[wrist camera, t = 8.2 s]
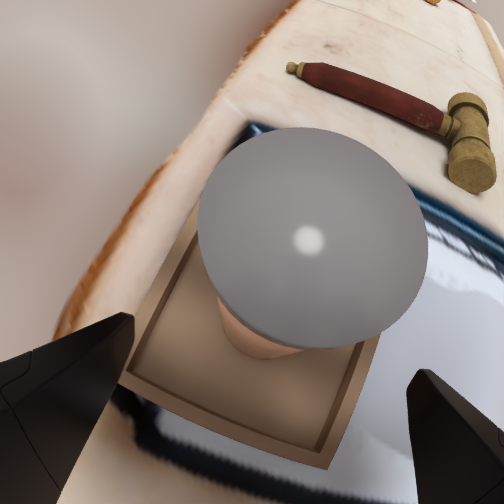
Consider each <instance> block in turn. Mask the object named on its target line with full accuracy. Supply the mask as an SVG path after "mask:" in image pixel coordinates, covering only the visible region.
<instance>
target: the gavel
mask: <svg viewBox="0 0 504 504" xmlns="http://www.w3.org/2000/svg"><path fill="white" fill-rule="evenodd" d="M286 69H287V70H288V71H289V72H296V73H297V76H298V77H300V78H303V79H304V80H306V81H307V82H309V83H310V84H312V85H313V86H315V87H317V88H320V89H323V90H326V91H329V92H332V93H335V94H338V95H341V96H344V97H347V98H350V99H352V100H355V101H358V102H361V103H363V104H366V105H369V106H371V107H374V108H376V109H379V110H381V111H384V112H386V113H389V114H391V115H393V116H396V117H398V118H400V119H403V120H405V121H407V122H410V123H412V124H414V125H416V126H418V127H421V128H423V129H426V130H429V131H432V132H436V133H438V134H440V135H442V136H444V135H445V138H447V139H449V140H451V141H452V149H451V151H450V153H449V167H448V174H449V178H450V180H451V181H452V182H453V183H454V184H455V185H457V186H459V187H461V188H462V189H464V190H466V191H467V192H471V193H479V192H484V191H486V190H488V189H490V188H491V187H492V186H493V185H494V183H495V181H496V177H497V175H496V165H495V158H494V155H493V153H492V152H491V149H490V141H489V135H488V125H489V118H488V113H487V108H486V105H485V103H484V102H483V101H482V100H481V99H480V98H479V97H478V96H476V95H474V94H472V93H466V92H464V93H458V94H456V95H454V96H453V97H452V98H451V99H450V100H449V103H448V115H447V114H445V113H443V112H442V111H440V110H439V109H437V108H436V107H434V106H433V105H431V104H429V103H427V102H425V101H423V100H421V99H418V98H416V97H414V96H412V95H409V94H407V93H405V92H403V91H400V90H398V89H395V88H393V87H391V86H388V85H386V84H383V83H380V82H378V81H375V80H373V79H370V78H367V77H364V76H362V75H359V74H356V73H353V72H350V71H347V70H344V69H341V68H338V67H335V66H332V65H329V64H325V63H304V62H301V63H300V64H299V65H297V64H295V63H294V62H289V63H288V64H287V66H286Z"/></svg>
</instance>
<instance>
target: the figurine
mask: <svg viewBox="0 0 504 504" xmlns="http://www.w3.org/2000/svg"><path fill="white" fill-rule="evenodd" d="M426 1H428V2H429V3H432V4H437V3H439V2H440V1H441V0H426Z"/></svg>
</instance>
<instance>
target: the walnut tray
mask: <svg viewBox="0 0 504 504" xmlns="http://www.w3.org/2000/svg"><path fill="white" fill-rule="evenodd" d="M200 199H201V197H200ZM200 199H199V201H198V203H197V204H196V206H195V208H194V209H193V211H192V213H191V215H190V216H189V218H188V220H187V222H186V223H185V225H184V227H183V229H182V230H181V232H180V234H179V236H178V237H177V239H176V241H175V243H174V245H173V246H172V248H171V250H170V252H169V254H168V255H167V257H166V259H165V261H164V263H163V265H162V267H161V268H160V270H159V272H158V274H157V276H156V278H155V280H154V282H153V283H152V285H151V287H150V289H149V291H148V293H147V295H146V297H145V299H144V301H143V303H142V305H141V307H140V309H139V311H138V313H137V315H136V317H135V340H134V344H133V347H132V349H131V351H130V354H129V356H128V359H127V361H126V364H125V366H124V369H123V371H122V374H121V376H120V379H119V381H118V383H119V384H121V385H122V386H124V387H126V388H128V389H129V390H131V391H133V392H135V393H136V394H138V395H140V396H142V397H144V398H146V399H147V400H149V401H151V402H153V403H155V404H157V405H159V406H161V407H163V408H165V409H167V410H169V411H171V412H173V413H175V414H177V415H179V416H181V417H183V418H185V419H187V420H189V421H192V422H194V423H196V424H198V425H200V426H203V427H205V428H207V429H210V430H212V431H214V432H217V433H219V434H221V435H224V436H226V437H229V438H231V439H234V440H236V441H239V442H241V443H244V444H246V445H249V446H252V447H255V448H257V449H260V450H263V451H266V452H269V453H271V454H274V455H277V456H280V457H284V458H287V459H290V460H293V461H296V462H300V463H303V464H306V465H310V466H313V467H317V468H321V469H324V470H327V469H328V467H329V465H330V463H331V461H332V459H333V457H334V455H335V453H336V450H337V448H338V446H339V444H340V442H341V439H342V437H343V435H344V432H345V430H346V428H347V425H348V423H349V421H350V418H351V416H352V413H353V411H354V408H355V406H356V403H357V401H358V398H359V395H360V393H361V390H362V387H363V385H364V382H365V379H366V376H367V373H368V371H369V368H370V365H371V362H372V359H373V356H374V353H375V350H376V347H377V344H378V340H379V338H380V334H381V333H379V334H377V335H376V336H373V337H371V338H369V339H366V340H364V341H361V342H358V343H354V344H351V345H347V346H343V347H338V348H334V349H329V350H316V351H313V350H303V351H300V352H297V353H293V354H290V355H286V356H283V357H280V358H276V359H269V360H262V359H256V358H252V357H249V356H247V355H245V354H243V353H241V352H240V351H239V350H237V349H236V348H235V347H234V346H233V345H232V344H231V343H230V341H229V340H228V338H227V337H226V335H225V332H224V330H223V326H222V321H221V316H220V310H219V304H218V298H217V295H216V293H215V291H214V290H213V288H212V286H211V284H210V281H209V279H208V277H207V274H206V271H205V267H204V263H203V259H202V255H201V250H200V246H199V240H198V230H197V221H198V209H199V204H200Z"/></svg>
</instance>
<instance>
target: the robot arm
mask: <svg viewBox="0 0 504 504" xmlns="http://www.w3.org/2000/svg"><path fill="white" fill-rule="evenodd" d="M134 340H135V319H134V316H133V315H131V314H128V313H124V312H120V313H117V314H115V315H113V316H110V317H108V318H106V319H103V320H101V321H99V322H96V323H94V324H92V325H90V326H87V327H85V328H83V329H80V330H78V331H76V332H73V333H71V334H69V335H66V336H64V337H62V338H59V339H57V340H55V341H52V342H50V343H48V344H45V345H43V346H41V347H38V348H36V349H33V351H29V352H26V353H24V354H22V355H19V356H17V357H14V358H12V359H9V360H7V361H3V362H0V504H56V503H57V501H58V499H59V497H60V495H61V491H62V490H63V488H64V486H65V484H66V482H67V480H68V478H69V476H70V474H71V472H72V470H73V467H74V465H75V463H76V461H77V459H78V457H79V456H80V454H81V452H82V450H83V448H84V446H85V444H86V442H87V440H88V438H89V436H90V434H91V432H92V430H93V428H94V426H95V424H96V423H97V421H98V419H99V417H100V415H101V413H102V411H103V409H104V408H105V406H106V404H107V402H108V400H109V398H110V396H111V395H112V393H113V391H114V389H115V387H116V385H117V383H118V381H119V379H120V376H121V374H122V371H123V369H124V366H125V364H126V361H127V359H128V356H129V354H130V351H131V349H132V347H133V344H134ZM406 396H407V408H408V423H409V434H410V441H411V447H412V453H413V461H414V469H415V477H416V485H417V495H418V504H504V432H503V431H502V430H501V429H500V428H497V426H496V425H495V424H494V423H493V422H492V421H491V420H489V419H488V418H487V417H486V416H484V414H482V413H481V412H480V411H479V410H478V409H477V408H475V407H474V406H473V405H472V404H471V403H469V402H468V401H467V400H466V399H465V398H464V397H462V396H461V395H460V394H459V393H458V392H456V391H455V390H454V389H453V388H452V387H451V386H449V385H448V384H447V383H446V382H445V381H443V380H442V379H441V378H440V377H439V376H437V375H436V374H435V373H434V372H432V371H431V370H429V369H419V370H418V371H417V372H416V374H415V376H414V377H413V379H412V380H411V382H410V384H409V385H408V387H407V391H406Z"/></svg>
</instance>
